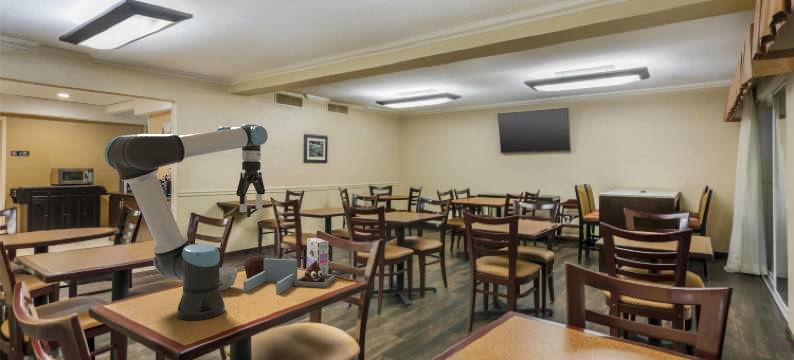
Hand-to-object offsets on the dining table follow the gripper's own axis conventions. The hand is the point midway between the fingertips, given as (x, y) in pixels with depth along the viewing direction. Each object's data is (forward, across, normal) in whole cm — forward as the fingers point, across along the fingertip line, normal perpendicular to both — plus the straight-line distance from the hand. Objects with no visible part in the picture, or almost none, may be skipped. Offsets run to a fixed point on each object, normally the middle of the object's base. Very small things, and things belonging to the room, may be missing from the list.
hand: (251, 210), depth 182 cm
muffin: (+33, +14, +5) cm, 36 cm away
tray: (+33, +10, -25) cm, 42 cm away
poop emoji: (+32, +10, -24) cm, 42 cm away
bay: (+33, +1, -9) cm, 34 cm away
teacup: (+33, -7, +9) cm, 35 cm away
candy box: (+33, +27, -20) cm, 47 cm away
